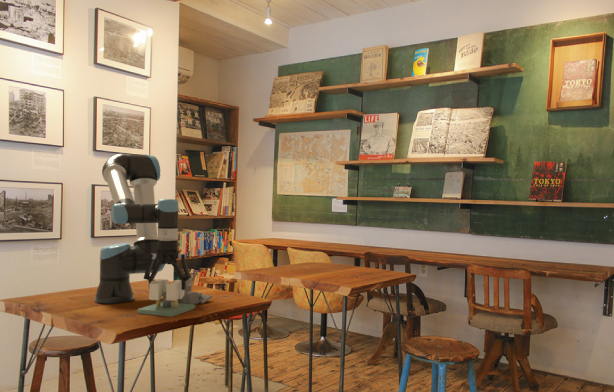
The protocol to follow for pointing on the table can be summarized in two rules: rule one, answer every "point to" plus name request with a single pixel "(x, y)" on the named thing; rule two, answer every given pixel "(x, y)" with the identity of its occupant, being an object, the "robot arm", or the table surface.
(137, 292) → the table surface
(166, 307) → the board
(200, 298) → the camera
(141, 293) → the table surface
